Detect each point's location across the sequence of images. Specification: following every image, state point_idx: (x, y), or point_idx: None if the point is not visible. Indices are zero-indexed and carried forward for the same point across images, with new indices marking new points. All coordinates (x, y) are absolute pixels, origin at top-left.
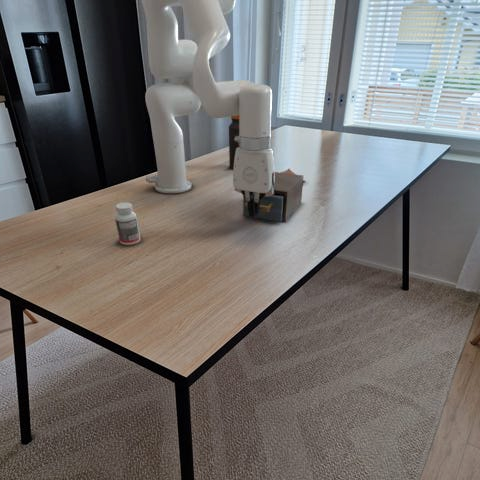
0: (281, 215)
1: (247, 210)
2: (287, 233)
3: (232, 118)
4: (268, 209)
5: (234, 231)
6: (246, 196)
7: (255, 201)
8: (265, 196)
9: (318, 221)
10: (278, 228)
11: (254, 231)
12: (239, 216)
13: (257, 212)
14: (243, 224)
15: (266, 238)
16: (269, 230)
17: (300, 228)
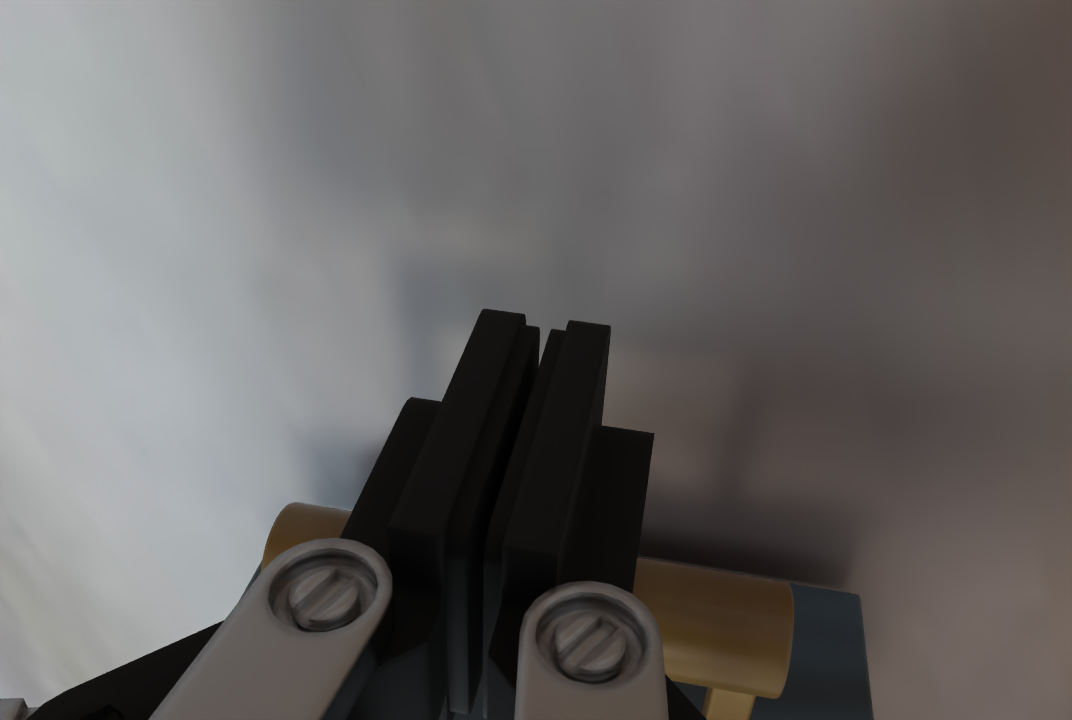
0: (260, 572)
1: (791, 654)
2: (112, 266)
3: None
4: (276, 540)
5: (908, 118)
6: (627, 714)
7: (370, 577)
8: (45, 707)
9: (16, 599)
10: (288, 378)
11: (561, 210)
12: (927, 607)
13: (419, 402)
14: (807, 398)
15: (280, 11)
16: (367, 296)
17: (64, 428)
